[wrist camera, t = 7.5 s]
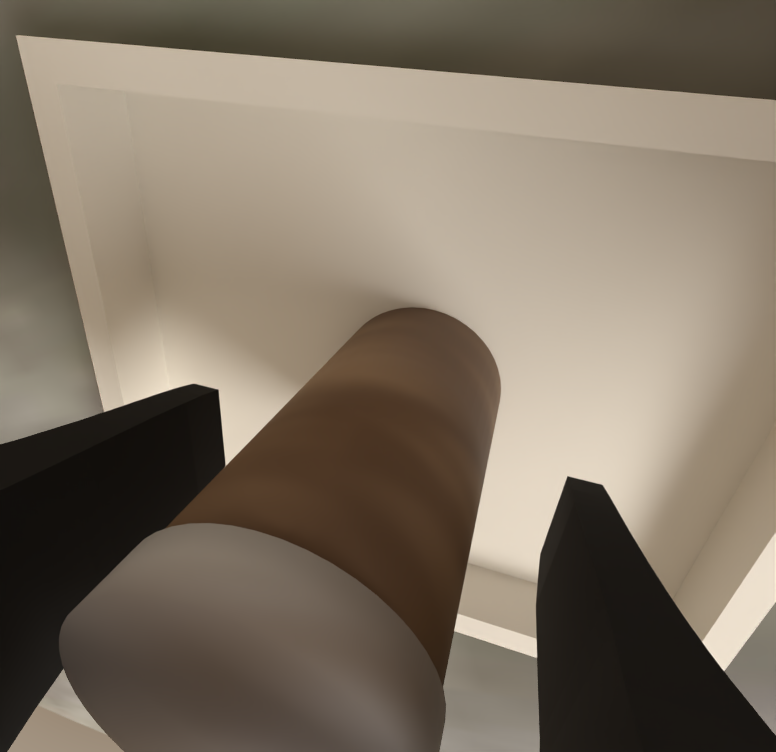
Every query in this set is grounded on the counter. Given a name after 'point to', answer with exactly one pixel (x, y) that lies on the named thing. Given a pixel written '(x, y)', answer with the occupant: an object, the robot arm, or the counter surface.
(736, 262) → the tray
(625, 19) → the counter surface
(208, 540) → the shaker
